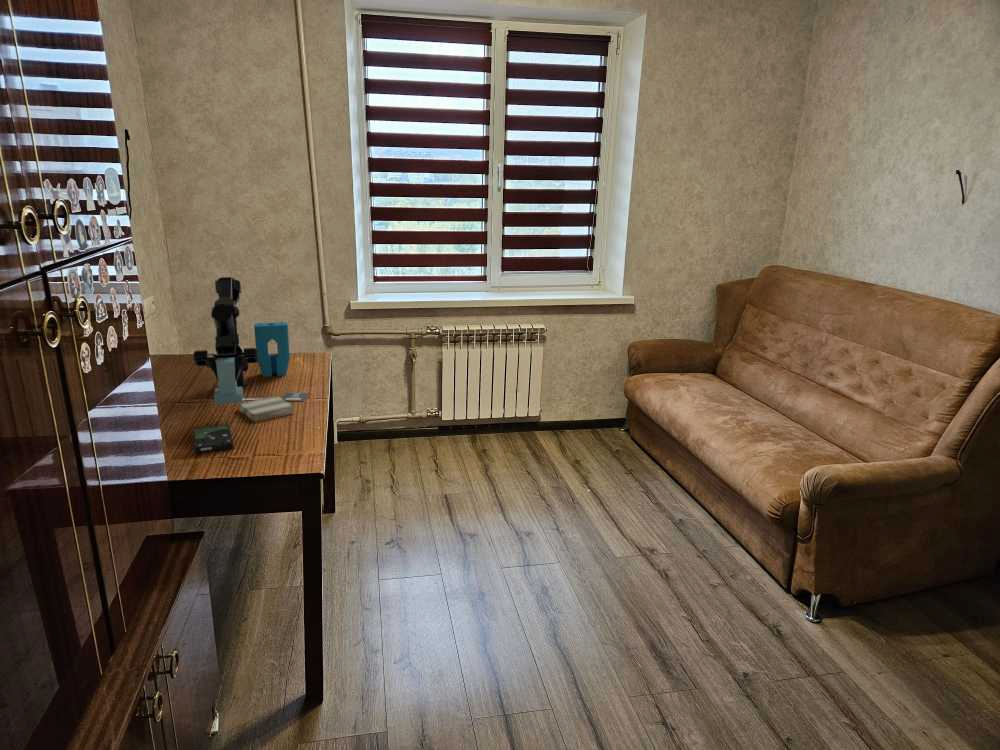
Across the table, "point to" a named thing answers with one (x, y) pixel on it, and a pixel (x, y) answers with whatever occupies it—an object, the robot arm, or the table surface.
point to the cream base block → (266, 408)
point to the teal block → (227, 383)
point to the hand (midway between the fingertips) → (227, 380)
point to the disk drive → (213, 439)
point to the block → (281, 360)
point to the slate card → (295, 397)
